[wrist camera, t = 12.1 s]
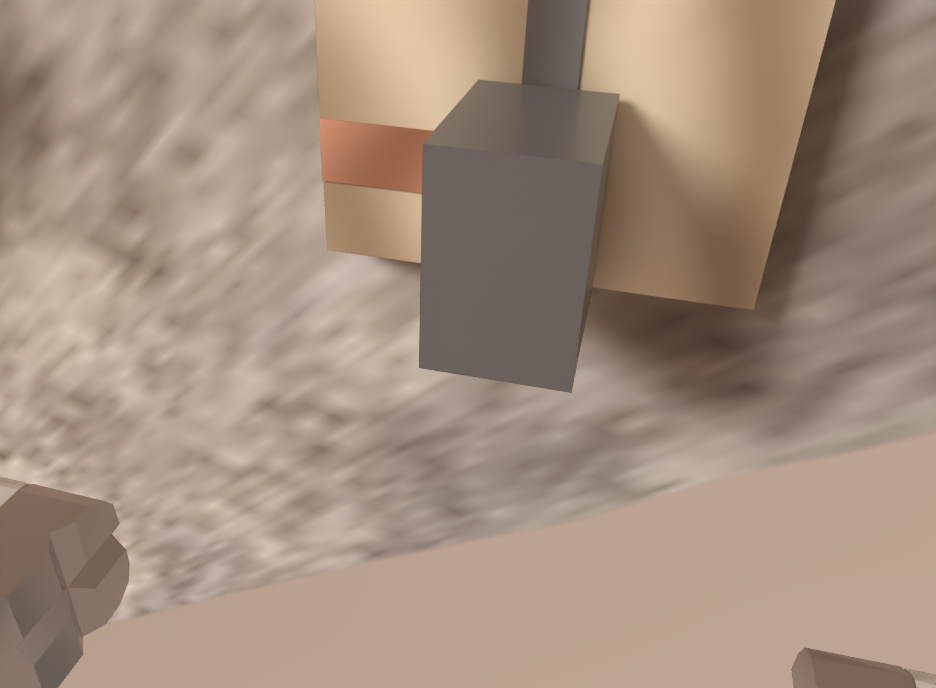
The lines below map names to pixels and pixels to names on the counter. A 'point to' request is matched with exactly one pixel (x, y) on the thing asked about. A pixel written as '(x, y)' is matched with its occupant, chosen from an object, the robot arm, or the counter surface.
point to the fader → (513, 231)
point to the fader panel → (592, 69)
